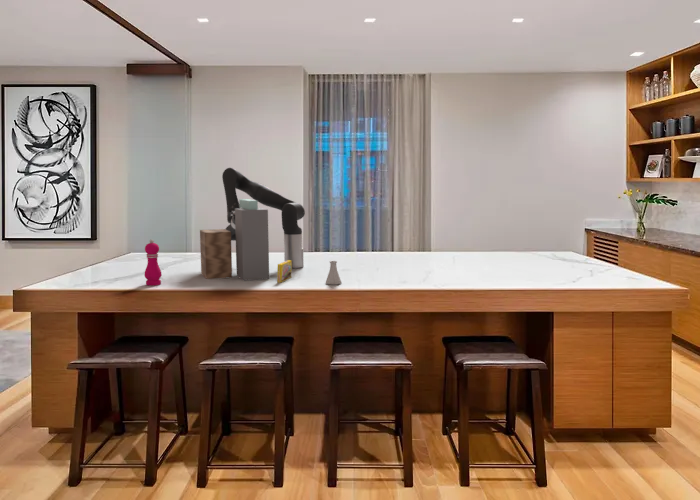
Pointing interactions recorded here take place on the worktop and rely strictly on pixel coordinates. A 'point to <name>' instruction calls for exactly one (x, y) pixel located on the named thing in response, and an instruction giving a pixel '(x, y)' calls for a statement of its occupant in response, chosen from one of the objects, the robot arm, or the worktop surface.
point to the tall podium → (252, 244)
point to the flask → (333, 274)
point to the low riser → (216, 253)
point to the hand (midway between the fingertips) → (244, 205)
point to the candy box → (284, 271)
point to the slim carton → (248, 204)
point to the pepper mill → (152, 264)
